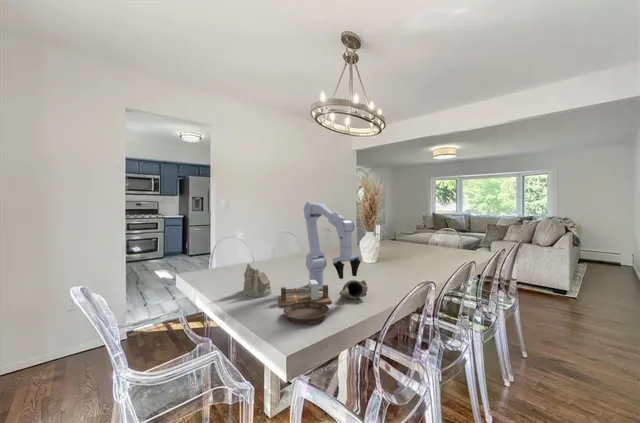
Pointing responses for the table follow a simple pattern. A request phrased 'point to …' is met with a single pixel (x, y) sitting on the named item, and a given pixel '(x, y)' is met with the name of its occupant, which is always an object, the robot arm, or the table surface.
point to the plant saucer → (306, 312)
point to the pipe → (354, 289)
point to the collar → (313, 289)
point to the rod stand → (303, 296)
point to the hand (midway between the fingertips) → (347, 277)
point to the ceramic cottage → (256, 283)
